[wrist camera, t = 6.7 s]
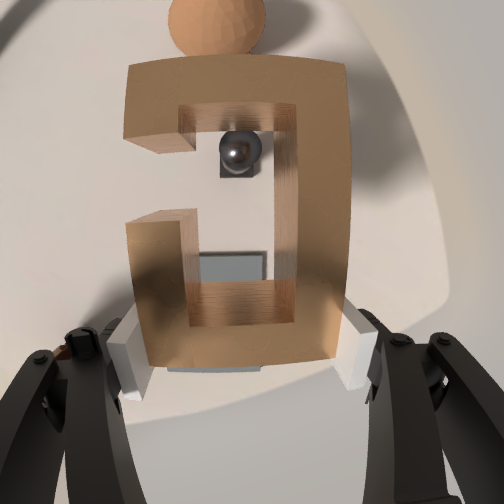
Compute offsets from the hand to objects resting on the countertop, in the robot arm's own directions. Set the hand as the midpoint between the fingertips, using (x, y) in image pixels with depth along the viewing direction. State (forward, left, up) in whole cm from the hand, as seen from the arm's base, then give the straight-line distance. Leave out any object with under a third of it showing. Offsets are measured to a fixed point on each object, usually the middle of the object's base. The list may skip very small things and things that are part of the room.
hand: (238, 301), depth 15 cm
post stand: (-9, 0, -12) cm, 15 cm away
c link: (-5, 0, 0) cm, 5 cm away
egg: (-22, -2, -13) cm, 25 cm away
